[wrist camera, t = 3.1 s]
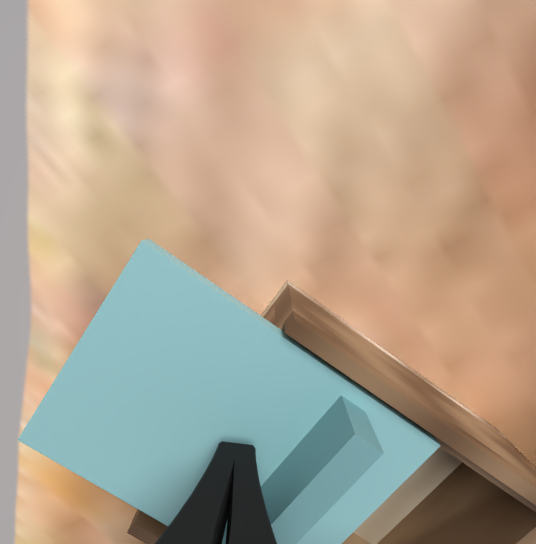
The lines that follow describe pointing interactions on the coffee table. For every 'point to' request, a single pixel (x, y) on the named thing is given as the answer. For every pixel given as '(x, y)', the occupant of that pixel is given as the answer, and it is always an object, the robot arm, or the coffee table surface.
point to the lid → (219, 408)
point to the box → (437, 468)
